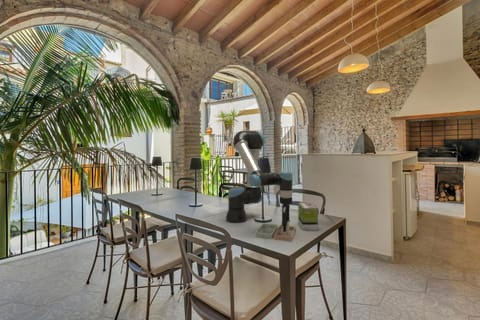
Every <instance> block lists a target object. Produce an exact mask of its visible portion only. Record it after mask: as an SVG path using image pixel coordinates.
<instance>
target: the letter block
mask: <svg viewBox="0 0 480 320" xmlns="http://www.w3.org/2000/svg"><path fill="white" fill-rule="evenodd" d="M289 226H290V222H289V221H287V236H290V230H289Z"/></svg>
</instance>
